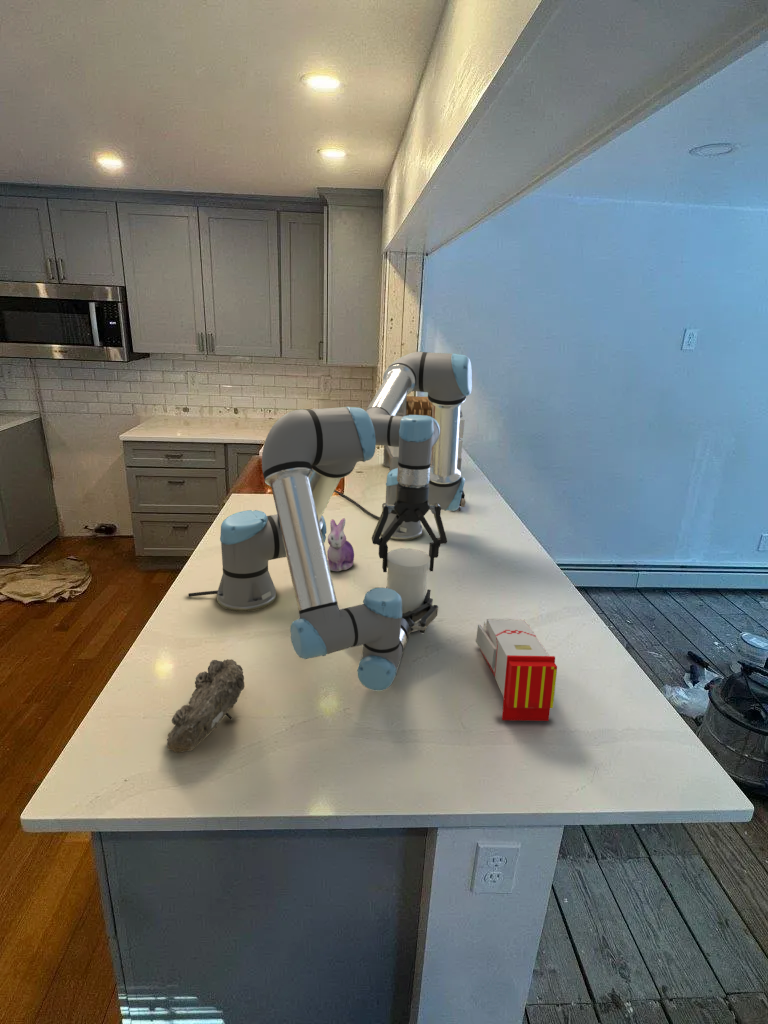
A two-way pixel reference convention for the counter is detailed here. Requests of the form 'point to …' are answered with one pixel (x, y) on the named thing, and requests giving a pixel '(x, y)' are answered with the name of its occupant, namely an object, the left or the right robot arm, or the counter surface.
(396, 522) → the right robot arm
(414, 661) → the counter surface
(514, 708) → the toy
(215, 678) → the fossil
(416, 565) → the lid
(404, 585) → the jar
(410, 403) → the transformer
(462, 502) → the figurine character
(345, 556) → the figurine
